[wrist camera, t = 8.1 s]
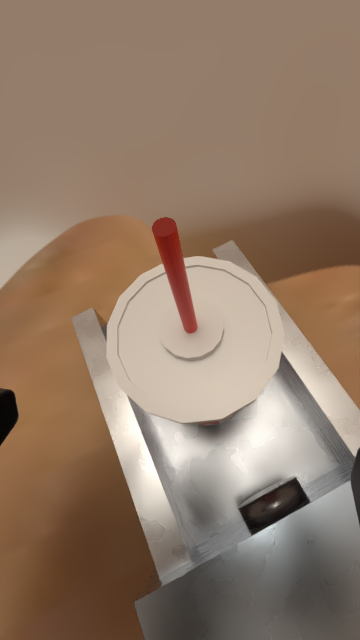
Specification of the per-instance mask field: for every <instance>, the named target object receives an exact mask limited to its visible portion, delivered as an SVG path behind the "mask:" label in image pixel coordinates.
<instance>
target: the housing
mask: <svg viewBox="0 0 360 640" xmlns="http://www.w3.org/2000/svg"><path fill="white" fill-rule="evenodd" d="M212 256H213V259H219V260H225V261H230V262H232V263H233V264H235V265H237V266H239V267H240V268H242V269H244V270H246V271H247V272H249V273H251V274H253V275H254V276H256V277H257V278H258V279H259V280H260V282H261V283H262V284H263V285H264V287H265V288H266V289H267V290H268V292H269V293H270V294H271V295H272V297H273V298H274V299H275V300H276V302H277V305H278V309H279V313H280V317H281V321H282V325H283V329H284V332H285V336H284V341H283V346H282V352H281V357H280V362H279V368H278V370H277V371H276V373H275V374H274V376H273V377H272V378H271V380H270V381H269V383H268V384H267V385H266V387H265V388H264V390H263V391H262V392H261V394H260V395H259V396H258V398H257V399H256V401H254V403H252V404H250V405H249V406H247V407H245V408H243V409H242V410H240V411H238V412H237V413H235V414H234V416H233V417H231V418H230V419H228V420H226V421H224V422H223V423H221V424H219V425H210V426H202V425H198V424H190V425H184V424H181V423H178V422H174V421H171V420H168V419H165V418H162V417H159V416H156V415H152V414H149V413H147V412H145V411H144V410H143V409H142V408H141V407H140V406H139V405H138V404H137V403H135V402H134V401H133V400H132V399H131V398H130V397H129V396H128V395H127V394H126V393H124V392H123V391H122V390H121V389H120V388H119V386H118V384H117V381H116V379H115V377H114V374H113V372H112V370H111V367H110V365H109V362H108V360H107V358H106V347H107V324H108V323H106V322H105V321H104V320H103V318H102V317H101V316H100V315H99V314H98V313H97V312H96V310H95V309H94V308H91V309H89V310H86V311H84V312H82V313H80V314H78V315H76V316H74V317H72V318H71V319H72V322H73V325H74V328H75V331H76V334H77V337H78V340H79V343H80V346H81V349H82V352H83V355H84V357H85V360H86V363H87V366H88V369H89V372H90V375H91V378H92V381H93V384H94V387H95V390H96V393H97V396H98V399H99V402H100V405H101V407H102V410H103V413H104V416H105V419H106V422H107V425H108V428H109V431H110V434H111V437H112V440H113V443H114V446H115V449H116V452H117V455H118V458H119V460H120V463H121V466H122V469H123V472H124V475H125V478H126V481H127V484H128V487H129V490H130V493H131V496H132V499H133V502H134V505H135V508H136V510H137V513H138V516H139V519H140V522H141V525H142V528H143V531H144V534H145V537H146V540H147V543H148V546H149V549H150V552H151V555H152V558H153V560H154V563H155V566H156V569H155V571H154V572H153V574H152V575H151V577H150V578H149V580H148V582H147V583H146V585H145V586H144V588H143V589H142V591H141V592H140V594H139V595H138V597H137V598H136V600H135V601H134V605H135V608H136V612H137V615H138V619H139V622H140V625H141V629H142V632H143V635H144V639H145V640H360V526H359V521H358V516H357V511H356V507H355V502H354V497H353V492H352V488H351V481H350V477H351V471H352V468H353V464H354V460H355V457H356V453H357V450H358V449H359V447H360V410H359V409H358V407H357V406H356V405H355V403H354V402H353V401H352V399H351V398H350V397H349V395H348V394H347V393H346V391H345V390H344V389H343V387H342V386H341V385H340V383H339V382H338V381H337V379H336V378H335V377H334V375H333V374H332V373H331V371H330V370H329V369H328V367H327V366H326V365H325V363H324V362H323V361H322V359H321V358H320V357H319V355H318V354H317V353H316V351H315V350H314V349H313V347H312V346H311V345H310V343H309V342H308V341H307V339H306V338H305V337H304V335H303V334H302V333H301V331H300V330H299V329H298V327H297V326H296V325H295V323H294V322H293V321H292V319H291V318H290V317H289V315H288V314H287V312H286V311H285V310H284V308H283V307H282V306H281V304H280V303H279V302H278V300H277V299H276V298H275V296H274V295H273V294H272V292H271V291H270V290H269V288H268V287H267V286H266V284H265V283H264V282H263V280H261V278H260V276H259V275H258V274H257V272H256V271H255V270H254V269H253V267H252V266H251V264H250V263H249V262H248V260H247V259H246V258H245V256H244V255H243V254H242V252H241V251H240V250H239V248H238V247H237V246H236V244H235V243H234V242H233V240H231V241H229V242H227V243H225V244H223V245H221V246H219V247H217V248H215V249H213V250H212Z"/></svg>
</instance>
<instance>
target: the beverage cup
mask: <svg viewBox="0 0 360 640" xmlns="http://www.w3.org/2000/svg"><path fill="white" fill-rule="evenodd" d="M152 231H153V234H154V237H155V241H156V244H157V247H158V250H159V253H160V256H161V259H162V262H163V264H161V265H159V266H157V267H155V268H153V269H151V270H149V271H147V272H145V273H143V274H142V275H140V276H139V277H138V278H137V279H136V280H135V281H134V282H133V283H132V284H131V285H130V287H129V288H128V289H127V290H126V291H125V292H124V293H123V294H122V295H121V296H120V297H119V299H118V301H117V304H116V306H115V308H114V310H113V313H112V315H111V317H110V320H109V322H108V324H107V347H106V358H107V360H108V362H109V365H110V367H111V370H112V372H113V374H114V377H115V379H116V381H117V384H118V386H119V388H120V389H121V390H122V391H123V392H124V393H126V394H127V395H128V396H129V397H130V398H131V399H132V400H133V401H134V402H135V403H137V404H138V405H139V406H140V407H141V408H142V409H143V410H144V411H145V412H147V413H149V414H152V415H156V416H159V417H162V418H165V419H168V420H171V421H174V422H178V423H181V424H184V425H190V424H198V425H202V426H210V425H219V424H221V423H223V422H224V421H226V420H228V419H230V418H231V417H233V416H234V414H235V413H237V412H238V411H240V410H242V409H243V408H245V407H247V406H249V405H250V404H252V403H254V401H256V399H257V398H258V396H259V395H260V394H261V392H262V391H263V390H264V388H265V387H266V385H267V384H268V383H269V381H270V380H271V378H272V377H273V376H274V374H275V373H276V371H277V370H278V368H279V362H280V357H281V352H282V346H283V341H284V336H285V332H284V329H283V325H282V321H281V317H280V313H279V309H278V305H277V302H276V300H275V299H274V298H273V297H272V295H271V294H270V293H269V292H268V290H267V289H266V288H265V287H264V285H263V284H262V283H261V282H260V280H259V279H258V278H257V277H256V276H254V275H253V274H251V273H249V272H247V271H246V270H244V269H242V268H240V267H239V266H237V265H235V264H233V263H232V262H230V261H225V260H219V259H213V258H207V257H201V256H196V257H189V258H183V254H182V250H181V245H180V240H179V236H178V231H177V226H176V223H175V221H174V220H173V219H171V218H167V217H165V218H160V219H159V220H156V221H155V223H154V224H153V226H152Z"/></svg>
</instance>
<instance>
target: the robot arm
mask: <svg viewBox="0 0 360 640" xmlns="http://www.w3.org/2000/svg"><path fill="white" fill-rule="evenodd" d="M18 416H19V413H18V408H17V403H16V397H15V394H14V392H13V391H12V390H8V389H2V388H0V446H1V444H2V443H3V441H4V440H5V438H6V437H7V436H8V434H9V433H10V431H11V430H12V428H13V427H14V426H15V424H16V423H17V420H18ZM350 481H351V488H352V492H353V497H354V502H355V507H356V511H357V516H358V521H359V526H360V447H359V449H358V450H357V453H356V457H355V460H354V464H353V468H352V471H351V477H350Z"/></svg>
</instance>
